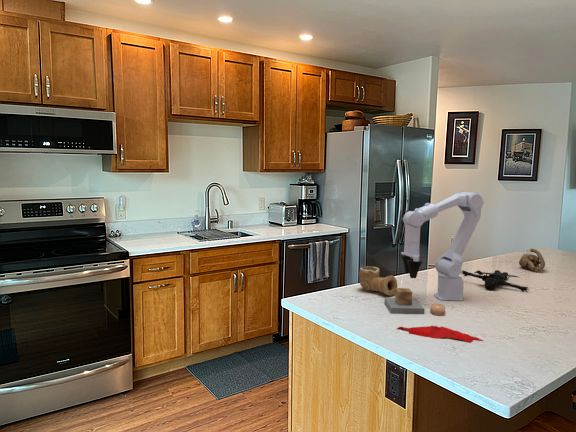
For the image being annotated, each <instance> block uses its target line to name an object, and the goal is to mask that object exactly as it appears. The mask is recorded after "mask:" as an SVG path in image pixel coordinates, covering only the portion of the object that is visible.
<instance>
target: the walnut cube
mask: <svg viewBox="0 0 576 432" xmlns="http://www.w3.org/2000/svg"><path fill="white" fill-rule="evenodd" d="M394 296H395V297H394V298H395V301H396V303H397V304H398V305H412V299H413V291H412V290H411V289H410V288H406V287H405V288H404V287H403V288H402V287H401V288H400V287H397V288H396V294H394Z"/></svg>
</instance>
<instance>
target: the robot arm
mask: <svg viewBox="0 0 576 432" xmlns="http://www.w3.org/2000/svg"><path fill="white" fill-rule="evenodd" d="M484 203H485V202H484V199H483V197H482V195H481V194H480V193H479V192H469V191H468V192H467V191H460V192H458V193H454V194H453V195H451V196H449V197H447V198H445V199H443V200H441V201H439V202H437V203H435V204H434V203H433V202H426V203H424V205H423V206H421V207H418V208H417V207H416V208H415V209H414V210H413V211H412V210H409V211H406V212H405V214H404V215H403V217H402V222H403V223H404V245H403V246H404V249H403V252H402V251H401V252H400V254H401V255H400V257H401V259H402V262H403V268H404V272H405V274H409V277H410V279H417V276H418V273H419V269H420V267H421V266H422V265H423V261H422V260H420V246H421V245H420V244H421V242H420V241H421V227H422V226H423V224H424V223H425V222H427V221H429V220H431V219H434V218H437V216H438V215H439V213H440V212H442V211H445V210H447V209H449V208H453V207H456V206H457V207H458V208H459V209H460V211H461V212H462V214H463V219H462V222H461V223H460V225H459V228H458V230H457V231H456V234H455V236H454V238H453V240H452V242H451V244H450V246H449V248H448V249H447V251H446V252H443V253H442V254H441V256H440V257H439V258H438V259H437V260H436V262H435V266H434V267H435V270H436V271H437V275H438V276H437V290H436V291H437V292H434V293H433V294H434V296H435V297H436V298H438V300H440V301H464V288H465V287H464V286H465V285H464V279H463V277H462V276H460V275H461V274H462V273H461V271H462V267H463V265H464V262H463V258H462V256H463V254H464V253H465V250H466V248H467V245H468V243H469V242H470V240H471V238H472V235H473V233H474V231H475V229H476V228H477V225H478V223H479V221H480V219H481V214H482V207H483V205H484Z"/></svg>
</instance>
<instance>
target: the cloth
mask: <svg viewBox="0 0 576 432" xmlns="http://www.w3.org/2000/svg"><path fill="white" fill-rule="evenodd" d="M396 330H405V331H406V332H408V334H409V335H415V336H419V337H424V338H430V339H444V338H448V339H454V340H457V341H464V342H467V343H473V342H474V341H478V342H484V340H483V339H480V338H478V337H476V336H472V335H470V334H468V333H464V332H461V331H459V330H454V329H451V328H448V327H446V326H437V325H430V326H415V327H414V326H413V327H404V326H398V327H397V328H396Z"/></svg>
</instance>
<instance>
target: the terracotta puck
mask: <svg viewBox="0 0 576 432" xmlns="http://www.w3.org/2000/svg"><path fill="white" fill-rule="evenodd" d="M429 309H430V310H429V311H430V312H429V314H431V315H433V316H437V317H438V316H439V317H442V316H445V315H446V305H444V304H441V303H430V307H429Z"/></svg>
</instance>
